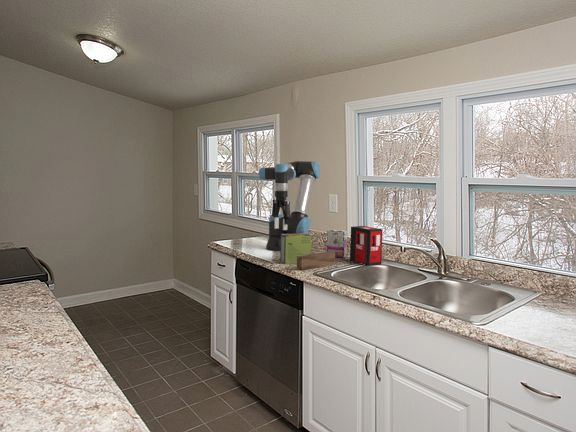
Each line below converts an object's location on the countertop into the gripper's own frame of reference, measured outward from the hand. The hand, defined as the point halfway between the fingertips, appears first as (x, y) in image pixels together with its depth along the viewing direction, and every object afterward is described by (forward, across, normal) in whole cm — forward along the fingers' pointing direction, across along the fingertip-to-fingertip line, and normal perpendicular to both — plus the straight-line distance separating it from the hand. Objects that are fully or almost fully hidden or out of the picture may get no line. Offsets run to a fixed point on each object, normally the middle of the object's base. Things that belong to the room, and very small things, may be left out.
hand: (280, 229), depth 255 cm
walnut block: (+17, +32, 0) cm, 36 cm away
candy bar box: (+17, +17, +30) cm, 39 cm away
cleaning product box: (+17, +39, +31) cm, 53 cm away
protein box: (+17, +14, 0) cm, 22 cm away
